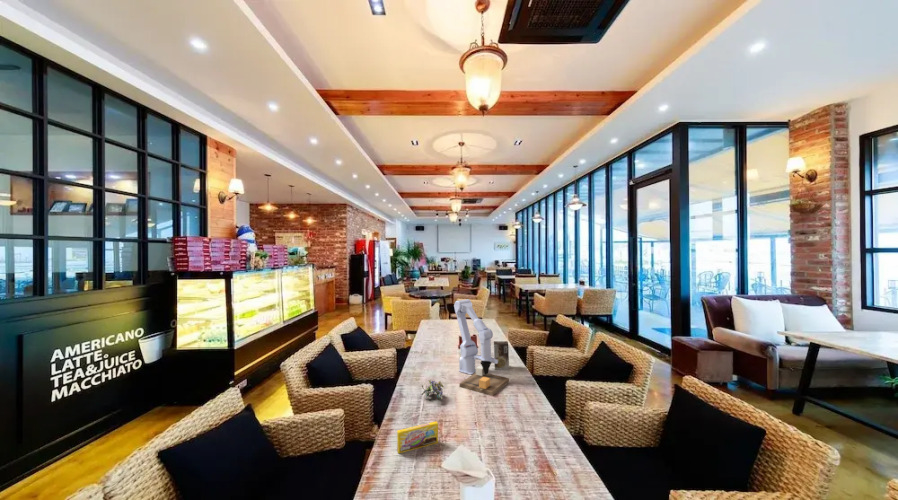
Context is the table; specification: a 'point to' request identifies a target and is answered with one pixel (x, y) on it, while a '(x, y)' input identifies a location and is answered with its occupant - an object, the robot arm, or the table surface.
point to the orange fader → (484, 382)
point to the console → (495, 386)
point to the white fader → (479, 370)
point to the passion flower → (434, 389)
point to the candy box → (417, 437)
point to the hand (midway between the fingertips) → (486, 373)
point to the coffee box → (501, 354)
